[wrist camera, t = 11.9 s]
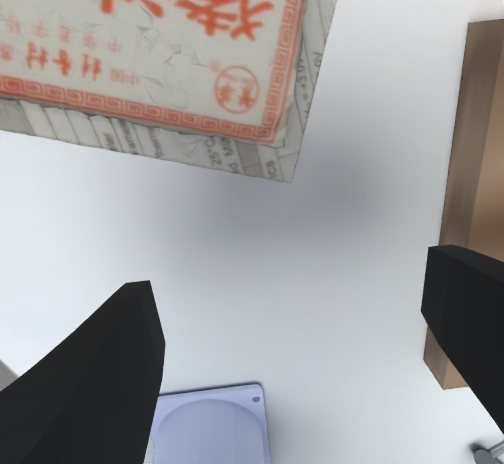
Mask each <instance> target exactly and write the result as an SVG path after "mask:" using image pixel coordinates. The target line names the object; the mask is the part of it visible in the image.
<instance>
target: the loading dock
mask: <svg viewBox="0 0 504 464" xmlns="http://www.w3.org/2000/svg"><path fill="white" fill-rule="evenodd" d="M449 244H453V245H457V246H461V247H464V248H467V249H470V250H473V251H476V252H478V253H481V254H484V255H487V256H489V257H492V258H495V259H497V260H500V261H502V262H504V19H499V20H491V21H482V22H474V23H469V25H468V32H467V40H466V47H465V55H464V62H463V70H462V77H461V85H460V92H459V99H458V107H457V114H456V122H455V129H454V137H453V144H452V152H451V159H450V166H449V174H448V181H447V189H446V196H445V204H444V211H443V219H442V226H441V233H440V241H439V246H441V245H449ZM424 362H425V363H426V365H427V366H428V368H429V369H430V371H431V372H432V374H433V375H434V377H435V378H436V380H437V381H438V383H439V384H440V386H441V387H442V389H443V390H445V389H453V388H461V387H468V384H467V383H466V382H465V380H464V379H463V378H462V376H461V375H460V374H459V372H458V371H457V369H456V368H455V367H454V365H453V364H452V363H451V361H450V360H449V358H448V357H447V356H446V354H445V353H444V351H443V350H442V349H441V347H440V346H439V344H438V342H437V341H436V339H435V337H434V335H433V334H432V332H431V330H430V328H429V326H428V330H427V338H426V345H425V353H424Z"/></svg>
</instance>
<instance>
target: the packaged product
mask: <svg viewBox="0 0 504 464" xmlns="http://www.w3.org/2000/svg"><path fill="white" fill-rule="evenodd" d="M335 5H336V0H0V130H4V131H9V132H15V133H21V134H26V135H30V136H38V137H43V138H48V139H54V140H59V141H63V142H67V143H72V144H77V145H82V146H88V147H95V148H102V149H107V150H111V151H117V152H122V153H129V154H134V155H141V156H146V157H151V158H156V159H162V160H169V161H175V162H179V163H184V164H188V165H193V166H199V167H204V168H209V169H215V170H222V171H226V172H231V173H236V174H243V175H248V176H252V177H261V178H266V179H272V180H277V181H280V182H285V183H291V181H292V177H293V173H294V169H295V165H296V162H297V158H298V155H299V151H300V145H301V140H302V137H303V133H304V130H305V126H306V122H307V118H308V114H309V110H310V106H311V102H312V98H313V94H314V90H315V86H316V82H317V77H318V73H319V69H320V65H321V61H322V56H323V52H324V48H325V44H326V40H327V36H328V32H329V29H330V25H331V21H332V17H333V13H334V9H335Z"/></svg>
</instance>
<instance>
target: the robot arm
mask: <svg viewBox="0 0 504 464" xmlns="http://www.w3.org/2000/svg"><path fill="white" fill-rule="evenodd" d="M421 313H422V315H423V316H424V318H425V320H426V322H427V324H428V326H429V328H430V330H431V332H432V334H433V335H434V337H435V339H436V341H437V342H438V344H439V346H440V347H441V349H442V350H443V351H444V353H445V354H446V356H447V357H448V358H449V360H450V361H451V363H452V364H453V365H454V367H455V368H456V369H457V371H458V372H459V374H460V375H461V376H462V378H463V379H464V380H465V382H466V383H467V384H468V386H469V387H470V388H471V390H472V391H473V393H474V394H475V395H476V397H477V398H478V399H479V401H480V402H481V403H482V405H483V406H484V407H485V409H486V410H487V412H488V413H489V414H490V416H491V417H492V418H493V420H494V421H495V422H496V424H497V425H498V427H499V428H500V430H501V431H502V433H503V434H504V262H502V261H500V260H497V259H495V258H492V257H489V256H487V255H484V254H481V253H478V252H476V251H473V250H470V249H467V248H464V247H461V246H457V245H453V244H449V245H441V246H432V247H429V248H428V256H427V265H426V273H425V281H424V289H423V297H422V306H421ZM164 354H165V339H164V335H163V331H162V327H161V323H160V319H159V315H158V311H157V307H156V303H155V299H154V295H153V291H152V287H151V283H150V280H147V281H139V282H130V283H125V284H124V285H123V286H122V287H120V288H119V289H118V290H117V291H116V292H115V293H114V294H113V295H112V296H111V297H110V298H109V299H108V300H107V301H105V302H104V303H103V304H102V305H101V306H100V307H99V308H98V309H97V310H96V311H95V312H94V313H93V314H92V315H91V316H90V317H89V318H88V319H86V320H85V321H84V322H83V323H82V324H81V325H80V326H79V327H78V328H77V329H76V330H75V331H74V332H73V333H71V334H70V335H69V336H68V337H67V338H66V339H65V340H63V341H62V342H61V343H60V344H59V345H58V346H56V347H55V348H54V349H53V350H52V351H51V352H49V353H48V354H47V355H46V356H45V357H44V358H43V359H41V360H40V361H39V362H38V363H37V364H36V365H34V366H33V367H32V368H31V369H29V370H28V371H27V372H26V373H24V374H23V375H22V376H20V377H19V378H18V379H17V380H15V381H14V382H13V383H11V384H10V385H9V386H7V387H6V388H5V389H3V390H2V391H0V464H143V462H144V458H145V453H146V449H147V445H148V440H149V436H151V439H152V442H153V445H154V448H155V452H154V458H153V464H271V458H270V449H269V441H268V432H267V423H266V415H265V406H264V397H263V389H262V387H261V386H260V385H258V384H253V385H245V386H237V387H229V388H221V389H213V390H206V391H198V392H190V393H182V394H174V395H166V396H159V391H160V387H161V382H162V375H163V366H164Z"/></svg>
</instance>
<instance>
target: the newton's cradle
mask: <svg viewBox="0 0 504 464" xmlns="http://www.w3.org/2000/svg"><path fill="white" fill-rule="evenodd" d="M503 453H504V446H502V447H500V448H499V449H497V450H495V451H493V452H492V453H489V452H487V451H486V450H483V449H480V450H477V451H476V452H475V453H474V458H475V462H476V464H501V463H500V462H499V461H498V460H497V459H496V457H498V456H499V455H501V454H503Z"/></svg>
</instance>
